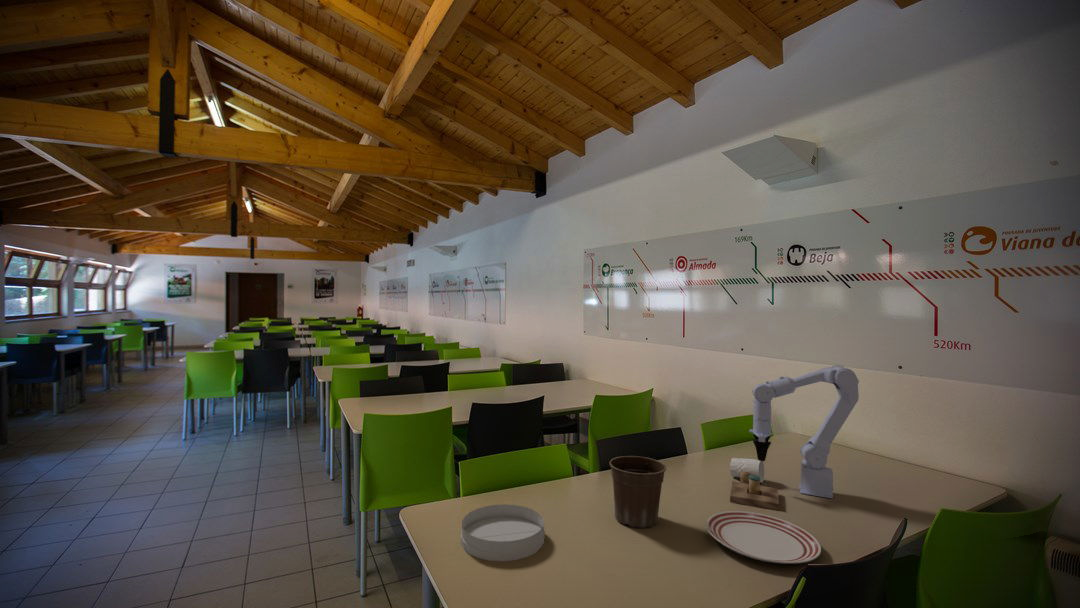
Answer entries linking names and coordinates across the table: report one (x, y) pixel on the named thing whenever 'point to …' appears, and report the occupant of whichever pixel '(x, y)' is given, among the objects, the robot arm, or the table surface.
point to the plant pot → (637, 489)
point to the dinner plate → (763, 537)
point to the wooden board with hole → (754, 496)
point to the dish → (502, 532)
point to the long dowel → (754, 484)
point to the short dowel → (745, 477)
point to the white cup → (747, 467)
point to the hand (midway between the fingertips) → (761, 457)
